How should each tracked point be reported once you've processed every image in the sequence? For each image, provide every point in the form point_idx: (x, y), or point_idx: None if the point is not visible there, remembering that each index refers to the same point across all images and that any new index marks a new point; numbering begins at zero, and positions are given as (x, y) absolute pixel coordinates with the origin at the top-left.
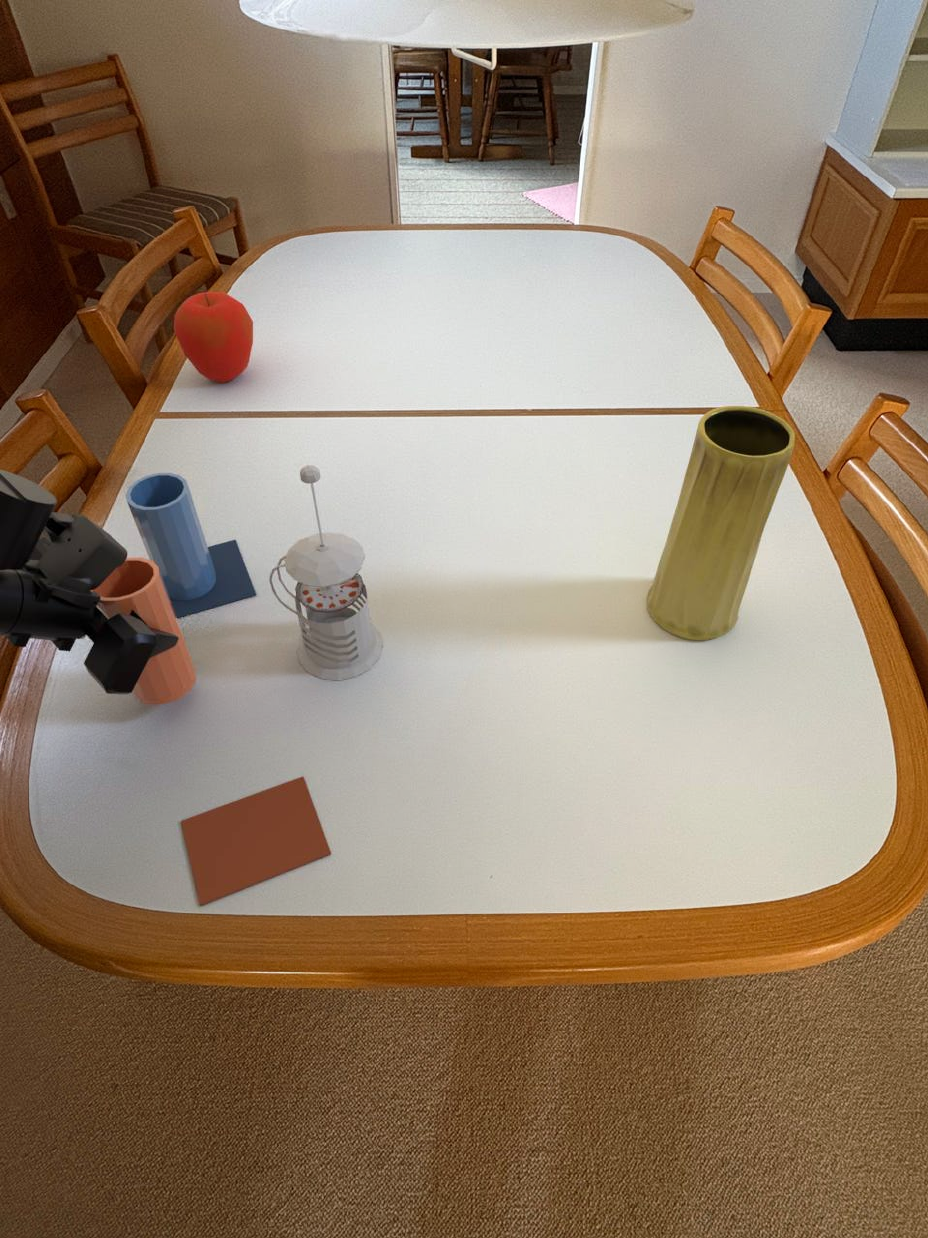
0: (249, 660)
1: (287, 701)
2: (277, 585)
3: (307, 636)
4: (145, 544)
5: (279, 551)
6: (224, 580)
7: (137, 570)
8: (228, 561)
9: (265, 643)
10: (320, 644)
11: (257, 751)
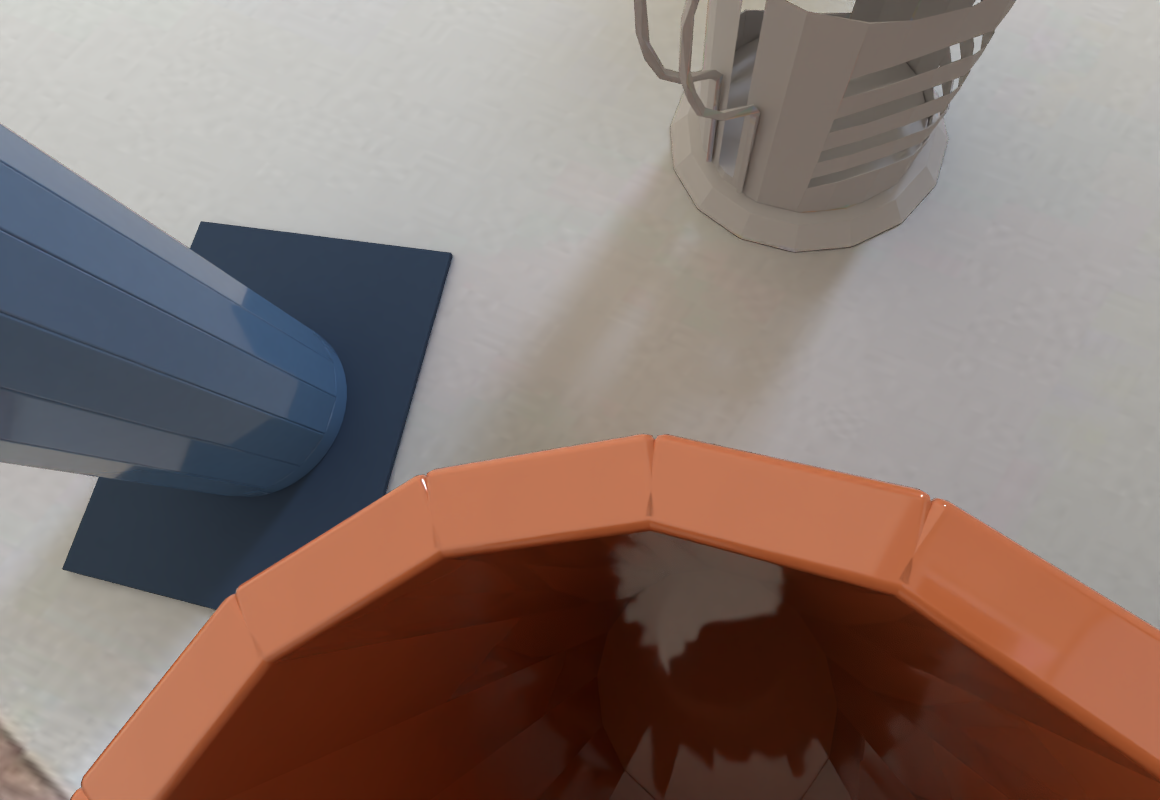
0: (699, 376)
1: (939, 343)
2: (455, 190)
3: (887, 120)
4: (17, 456)
5: (333, 137)
6: (333, 311)
7: (346, 698)
8: (269, 271)
9: (659, 307)
10: (945, 100)
11: (1113, 512)
